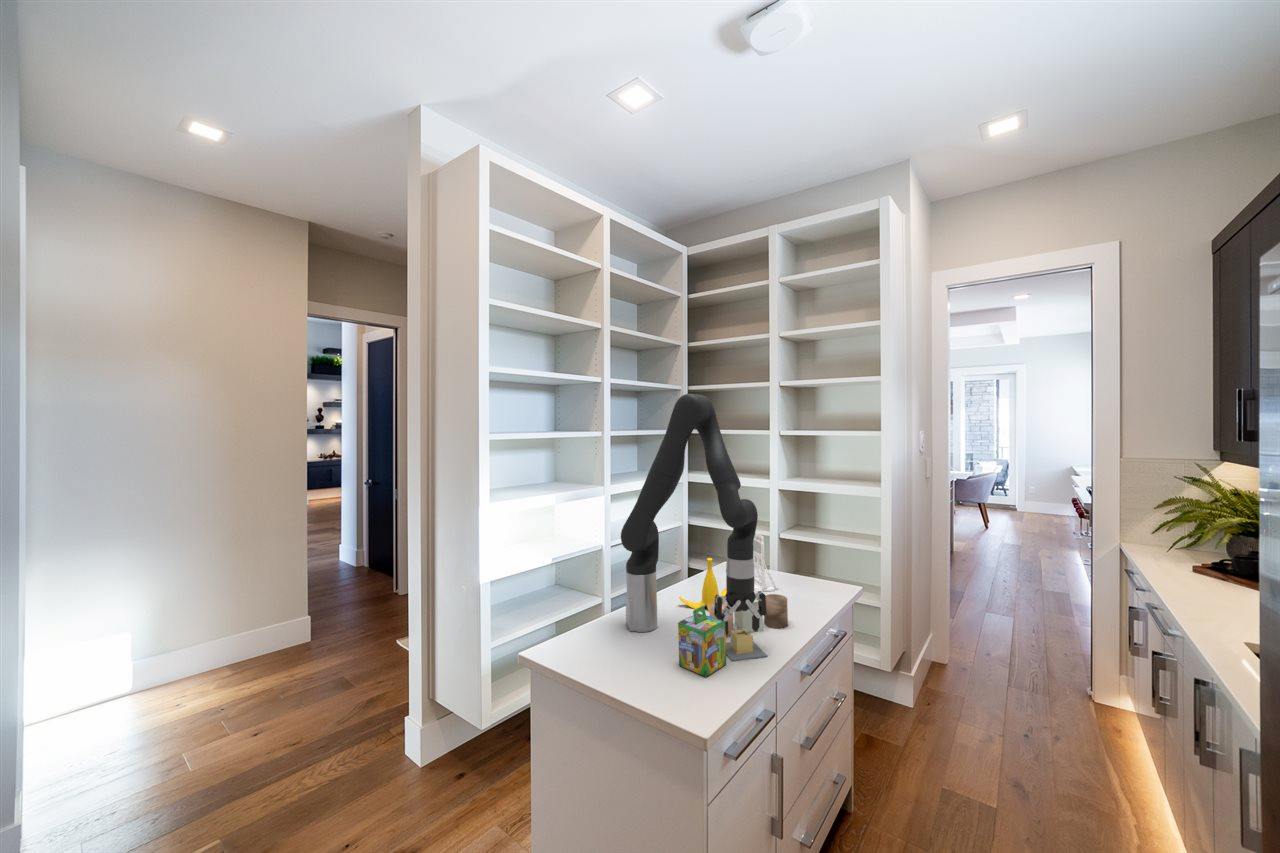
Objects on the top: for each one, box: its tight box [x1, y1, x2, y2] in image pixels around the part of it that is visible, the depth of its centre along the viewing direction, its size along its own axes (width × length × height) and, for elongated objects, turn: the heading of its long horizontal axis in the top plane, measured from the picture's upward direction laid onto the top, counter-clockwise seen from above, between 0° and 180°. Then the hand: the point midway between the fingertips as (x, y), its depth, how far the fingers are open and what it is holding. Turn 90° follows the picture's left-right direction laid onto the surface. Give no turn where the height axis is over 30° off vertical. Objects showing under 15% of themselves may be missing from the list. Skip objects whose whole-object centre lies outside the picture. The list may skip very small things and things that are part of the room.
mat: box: [726, 641, 768, 662], centre depth 141 cm, size 10×10×1 cm
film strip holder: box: [753, 532, 780, 593], centre depth 193 cm, size 14×14×20 cm
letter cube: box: [730, 629, 754, 654], centre depth 141 cm, size 4×4×5 cm
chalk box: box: [677, 606, 727, 678], centre depth 133 cm, size 9×9×15 cm
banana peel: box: [678, 557, 727, 612], centre depth 171 cm, size 16×19×17 cm
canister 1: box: [708, 601, 735, 638], centre depth 153 cm, size 7×7×8 cm
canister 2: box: [763, 593, 789, 630], centre depth 158 cm, size 7×7×8 cm
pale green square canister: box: [733, 599, 764, 633], centre depth 156 cm, size 7×7×9 cm
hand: (740, 631), depth 141 cm, fingers open, 8 cm apart
